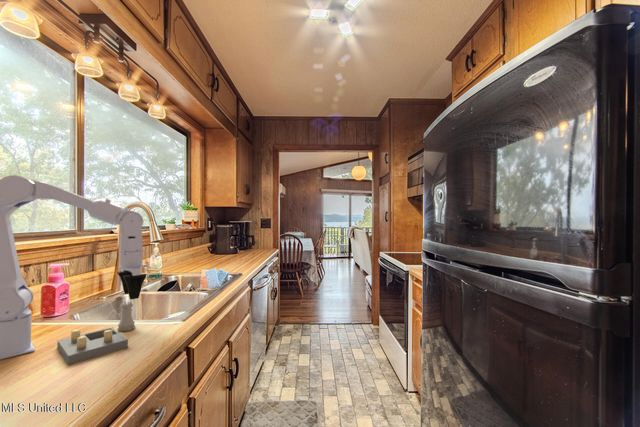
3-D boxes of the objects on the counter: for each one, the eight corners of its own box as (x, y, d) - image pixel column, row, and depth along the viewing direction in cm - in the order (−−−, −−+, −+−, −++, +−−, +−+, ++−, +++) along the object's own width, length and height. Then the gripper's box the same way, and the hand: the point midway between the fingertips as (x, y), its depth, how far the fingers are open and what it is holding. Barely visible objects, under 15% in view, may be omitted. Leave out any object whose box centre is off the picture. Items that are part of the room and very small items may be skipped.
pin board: (57, 348, 75) (57, 330, 75) (112, 334, 84) (112, 318, 84) (68, 364, 67) (68, 345, 67) (127, 347, 76) (128, 329, 76)
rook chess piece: (132, 325, 92) (132, 299, 92) (137, 328, 89) (137, 302, 89) (115, 329, 88) (115, 302, 88) (120, 333, 85) (120, 305, 85)
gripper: (152, 251, 85) (152, 298, 85) (140, 247, 95) (141, 289, 95) (124, 254, 80) (124, 303, 80) (114, 249, 90) (115, 293, 90)
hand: (131, 296), depth 87 cm, fingers open, 7 cm apart
